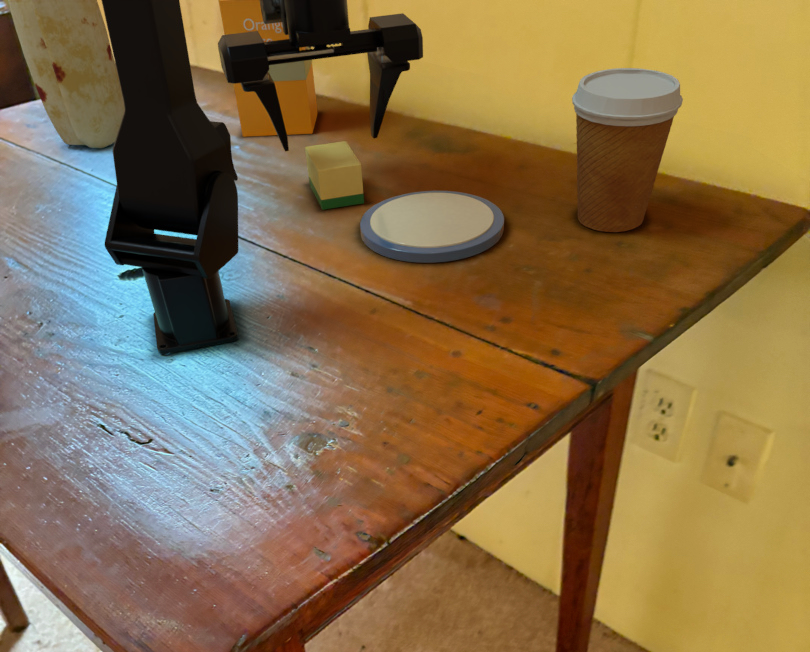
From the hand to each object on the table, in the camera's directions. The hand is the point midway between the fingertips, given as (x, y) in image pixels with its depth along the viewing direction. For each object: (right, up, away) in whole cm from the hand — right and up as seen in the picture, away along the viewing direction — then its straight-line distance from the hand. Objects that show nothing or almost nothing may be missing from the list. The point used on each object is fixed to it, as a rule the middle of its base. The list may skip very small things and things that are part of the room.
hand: (330, 143), depth 82 cm
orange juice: (-8, +12, +20) cm, 25 cm away
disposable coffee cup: (+28, -9, -3) cm, 29 cm away
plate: (+10, -10, -3) cm, 15 cm away
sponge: (0, -4, +4) cm, 5 cm away
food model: (-31, +9, +18) cm, 37 cm away
